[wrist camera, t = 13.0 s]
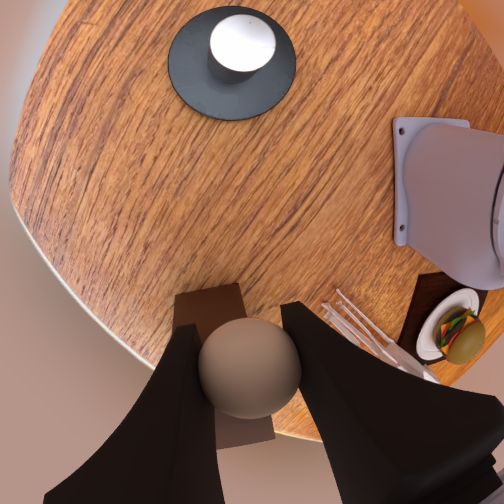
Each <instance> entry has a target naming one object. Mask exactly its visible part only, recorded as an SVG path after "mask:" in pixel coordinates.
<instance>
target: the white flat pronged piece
mask: <svg viewBox="0 0 504 504" xmlns="http://www.w3.org/2000/svg"><path fill="white" fill-rule="evenodd" d="M336 291H337V293H338V294H339V295H340V296H341V297H342V298H343V299H344V300H345V301H346V302H347V303H348V304H349V305H351V306H352V307H353V308H354V309H355V310H356V311H357V312H358V313H359V314H360V315H361V316H362V317H363V318H364V319H365V320H366V321H367V322H368V323H369V324H370V325H371V326H372V327H373V328H374V329H375V330H376V331H377V333H378V334H379V335H380V336H381V337H382V338H383V339H384V341H386V342H387V343H388V346H387V347H386V348H384V347H383V346H382V345H381V344H380V343H379V342H378V341H377V340H376V339H375V338H374V337H373V336H372V334H371V333H370V332H369V331H368V330H367V328H366V327H365V326H364V325H363V324H362V323H361V322H360V321H359V320H358V319H357V318H356V317H355V316H354V315H353V314H352V313H351V312H350V311H349V310H348V309H347V308H346V307H345V305H346V304H345V305H343V304H342V302H341V300H340V301H338V302H337V303H336V304H338V305H340V306H341V307H340V308H343V309H344V310H345V311H346V312H347V314H348V315H349V316H350V317H351V318H352V319H353V320H354V321H355V322H356V323H357V324H358V325H359V326H360V327H361V328H362V329H363V330H364V331H365V332H366V333H367V334H368V335H369V336H370V337H371V338H372V339H373V341H374V342H375V343H376V344H375V343H373V342H372V341H371V340H369V339H368V338H367V337H366V336H364V335H363V334H362V333H361V332H359V331H358V330H357V329H356V328H355V327H354V326H352V325H351V324H350V323H349V322H348V321H347V320H345V319H344V318H343V317H342V316H341V315H340V314H338V313H337V312H336V311H335V310H334V309H333V308H331V306H330V304H329V302H328V303H322V304H321V305H322V306H323V307H324V308H326V309H327V310H328V312H327V313H326V315H325V316H324V317H323V318H327V319H329V320H330V321H331V322H332V323H333V324H334V325H335V326H336V327H337V328H338V329H339V330H340V331H341V332H342V333H343V334H344V335H345V336H346V337H347V339H348V340H349V341H351V342H352V343H354V344H355V345H357V346H358V347H360V348H362V347H361V346H360V343H359V342H358V340H357V339H356V338H355V337H354V336H353V335H352V334H351V333H350V332H349V331H348V330H347V329H346V328H345V327H344V326H343V325H342V324H341V323H340V322H339V321H341V322H342V323H343V324H344V325H345V326H346V327H347V328H348V329H349V330H350V331H352V332H353V333H354V334H355V335H356V336H357V337H358V338H359V339H360V340H361V341H362V342H363V343H364V344H365V345H366V346H367V347H368V348H369V349H370V350H371V351H372V352H373V353H374V354H375V355H378V356H379V358H380V360H382V361H384V362H386V363H388V364H390V365H392V366H394V367H396V368H398V369H400V370H403V371H405V372H408V373H410V374H413V375H415V376H418V377H420V378H423V379H426V380H428V381H431V382H434V383H437V384H441V382H440V381H439V380H438V378H437V377H436V376H435V374H434V373H433V372H432V371H431V369H430V368H429V367H428V366H427V365H426V364H425V365H424V366H422V365H421V364H420V363H419V362H418V361H417V360H416V359H414V358H413V357H412V356H411V355H409V354H408V353H407V352H406V351H404V350H403V349H402V348H401V347H399V346H398V345H397V344H396V343H394V340H392V339H390V338H388V337H387V336H386V335H385V334H384V333H383V332H382V331H381V330H380V329H379V328H378V327H376V326H375V325H374V324H373V323H372V322H371V321H370V320H369V319H368V318H367V317H366V316H365V315H364V314H363V313H362V312H361V311H359V310H358V309H357V308H356V307H355V306H354V305H353V304H352V303H351V302H350V301H349V300H348V299H347V298H346V297H345V296H343V295H342V293H341V292H340V290H339V289H336ZM332 314H333V315H334V316H335V317H336V318H337V319H338V320H339V321H338V320H337V319H336V318H335V317H334V316H333V315H332ZM329 320H328V321H329ZM362 349H363V348H362ZM363 350H364V349H363Z"/></svg>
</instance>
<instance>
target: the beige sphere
mask: <svg viewBox="0 0 504 504" xmlns="http://www.w3.org/2000/svg"><path fill="white" fill-rule="evenodd" d="M198 371H199V378H200V383H201V387H202V390H203V392H204V394H205V396H206V397H207V398H208V400H209V401H210V402H211V403H212V404H213V405H214V406H215V407H216V408H218V409H219V410H220V411H222V412H224V413H226V414H228V415H230V416H233V417H237V418H242V419H257V418H262V417H266V416H269V415H271V414H274V413H275V412H277V411H279V410H280V409H282V408H283V407H284V406H285V405H286V404H287V403H288V402H289V401H290V400H291V399H292V397H293V396H294V395H295V393H296V391H297V389H298V387H299V384H300V380H301V376H302V367H301V362H300V357H299V354H298V351H297V348H296V346H295V344H294V342H293V340H292V338H291V337H290V336H289V335H288V334H287V332H285V331H284V330H283V329H282V328H280V327H279V326H277V325H276V324H274V323H271V322H269V321H266V320H263V319H257V318H241V319H236V320H233V321H230V322H227V323H225V324H223V325H222V326H220V327H219V328H217V329H216V330H215V331H214V332H213V333H212V334H211V335H210V336H209V337H208V338H207V339H206V341H205V342H204V344H203V346H202V348H201V350H200V354H199V357H198Z"/></svg>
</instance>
